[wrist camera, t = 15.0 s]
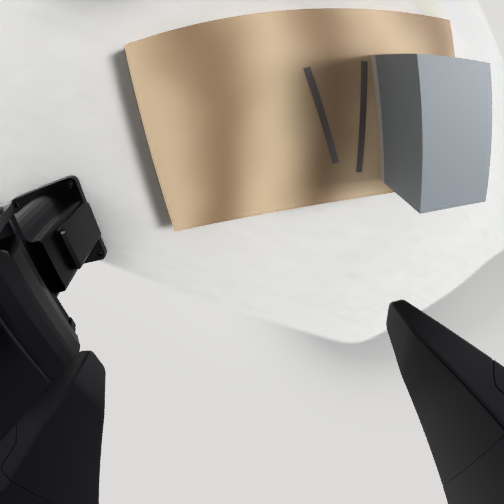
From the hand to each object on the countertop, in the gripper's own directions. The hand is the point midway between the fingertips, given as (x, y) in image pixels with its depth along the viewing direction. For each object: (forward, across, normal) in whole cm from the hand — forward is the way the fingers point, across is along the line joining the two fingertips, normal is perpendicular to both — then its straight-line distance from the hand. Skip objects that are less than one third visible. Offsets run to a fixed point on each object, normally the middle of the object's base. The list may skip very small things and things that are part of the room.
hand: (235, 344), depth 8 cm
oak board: (+13, -6, -4) cm, 15 cm away
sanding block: (+12, -12, -3) cm, 17 cm away
